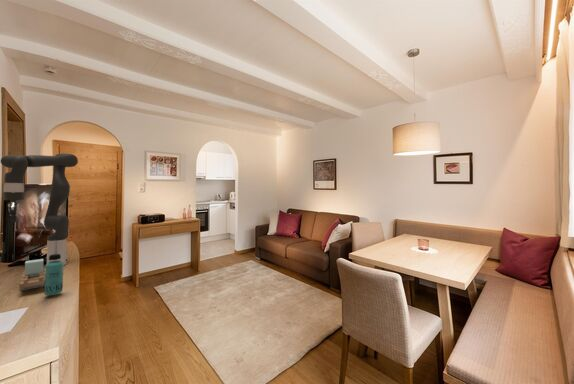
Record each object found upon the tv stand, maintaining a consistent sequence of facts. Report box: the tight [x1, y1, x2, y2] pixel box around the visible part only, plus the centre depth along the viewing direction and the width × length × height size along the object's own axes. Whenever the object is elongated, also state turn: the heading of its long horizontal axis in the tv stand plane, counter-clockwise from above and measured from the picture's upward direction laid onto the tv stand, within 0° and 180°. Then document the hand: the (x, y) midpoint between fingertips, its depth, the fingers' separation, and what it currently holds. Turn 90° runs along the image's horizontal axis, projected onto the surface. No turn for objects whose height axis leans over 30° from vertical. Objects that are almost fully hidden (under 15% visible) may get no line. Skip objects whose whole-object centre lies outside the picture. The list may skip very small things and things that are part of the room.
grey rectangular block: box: [24, 258, 44, 277], centre depth 125 cm, size 5×6×8 cm
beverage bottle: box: [43, 254, 64, 296], centre depth 117 cm, size 6×7×20 cm
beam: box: [19, 267, 46, 292], centre depth 126 cm, size 24×10×8 cm, turn 45°
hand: (13, 222), depth 134 cm, fingers closed
